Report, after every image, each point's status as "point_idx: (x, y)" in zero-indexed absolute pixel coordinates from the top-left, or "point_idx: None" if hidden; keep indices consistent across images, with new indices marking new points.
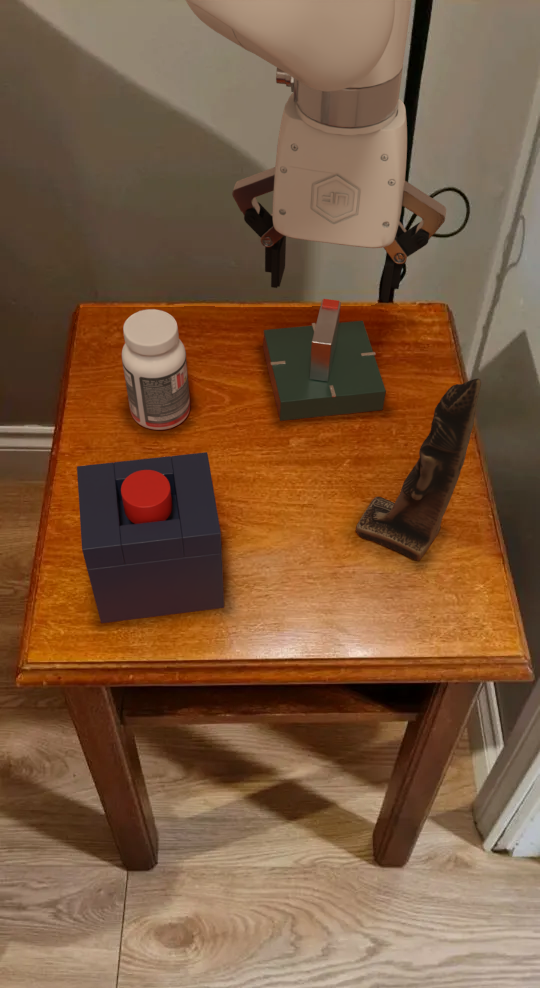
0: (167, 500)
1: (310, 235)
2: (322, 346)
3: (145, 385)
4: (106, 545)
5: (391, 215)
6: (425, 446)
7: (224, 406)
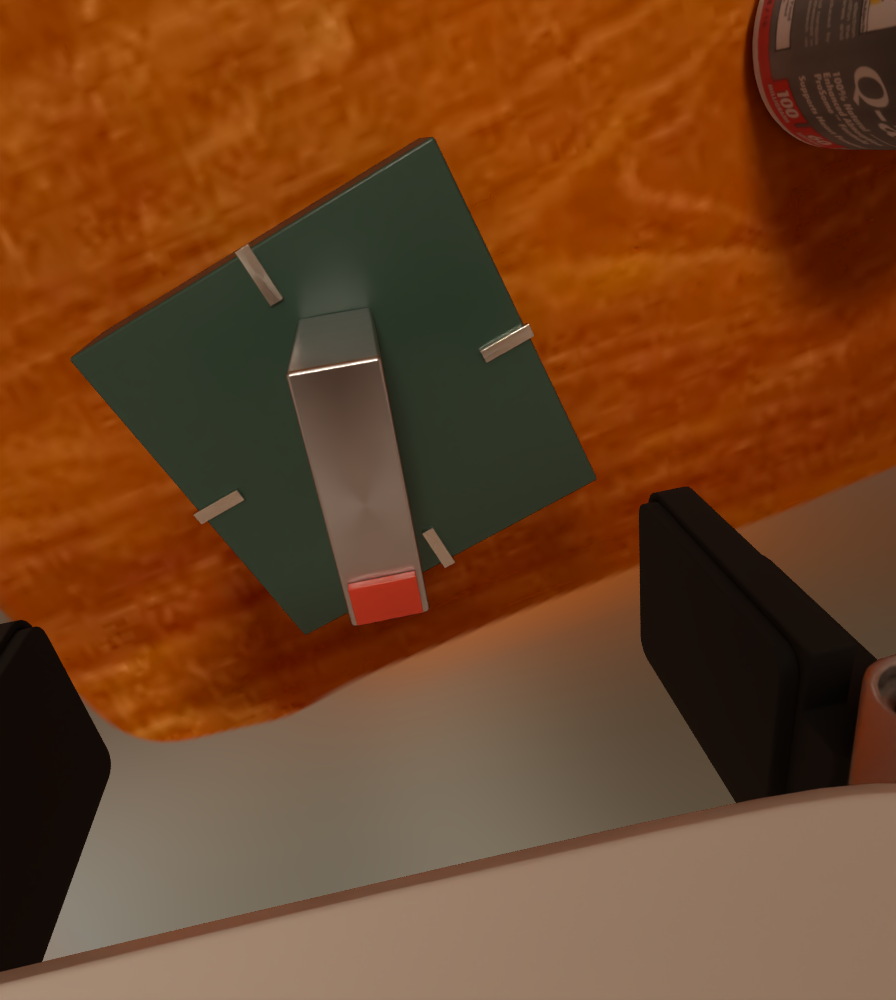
0: None
1: (632, 910)
2: (327, 361)
3: None
4: None
5: None
6: None
7: (631, 140)
